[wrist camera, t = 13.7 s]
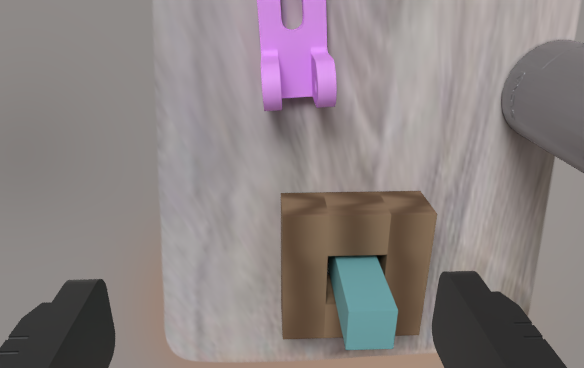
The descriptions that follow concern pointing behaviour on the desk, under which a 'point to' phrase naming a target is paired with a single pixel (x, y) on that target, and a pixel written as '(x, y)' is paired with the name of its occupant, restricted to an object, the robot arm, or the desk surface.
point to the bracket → (295, 56)
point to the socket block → (352, 241)
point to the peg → (363, 302)
